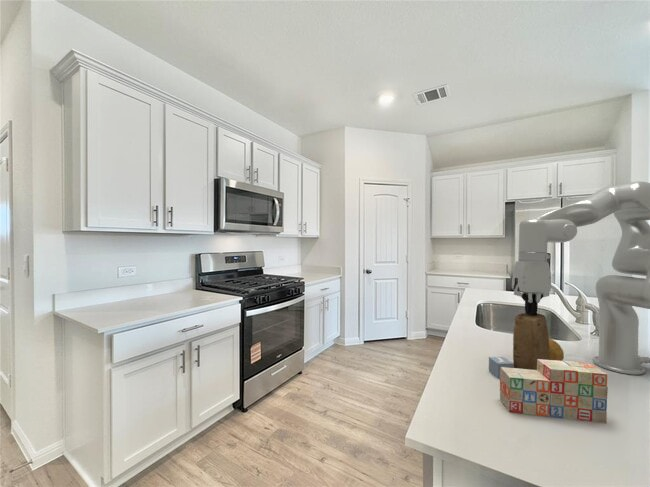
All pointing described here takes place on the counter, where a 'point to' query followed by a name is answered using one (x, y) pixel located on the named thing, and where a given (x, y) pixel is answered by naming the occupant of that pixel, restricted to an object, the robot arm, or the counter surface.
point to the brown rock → (530, 341)
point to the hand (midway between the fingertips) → (531, 314)
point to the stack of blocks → (556, 390)
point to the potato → (555, 351)
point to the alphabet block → (498, 365)
